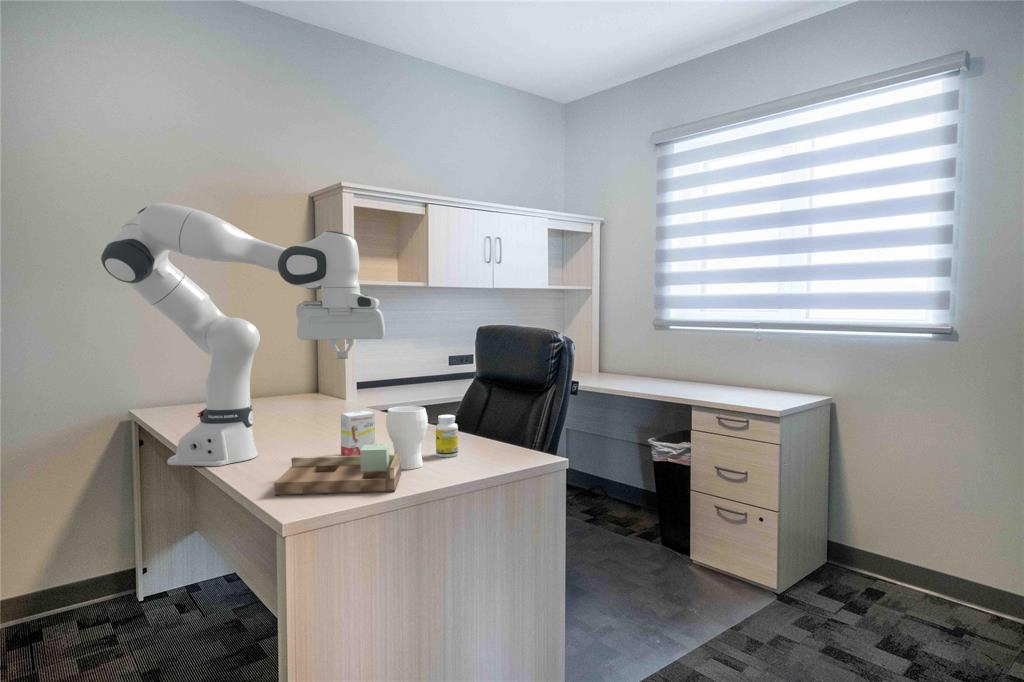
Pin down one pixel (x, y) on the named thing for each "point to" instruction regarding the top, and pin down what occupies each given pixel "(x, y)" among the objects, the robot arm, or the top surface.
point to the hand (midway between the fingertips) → (342, 358)
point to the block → (374, 457)
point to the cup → (407, 433)
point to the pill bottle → (446, 436)
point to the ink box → (356, 432)
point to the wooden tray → (336, 476)
